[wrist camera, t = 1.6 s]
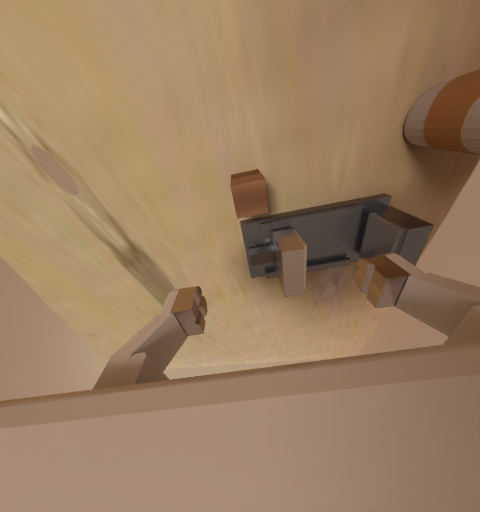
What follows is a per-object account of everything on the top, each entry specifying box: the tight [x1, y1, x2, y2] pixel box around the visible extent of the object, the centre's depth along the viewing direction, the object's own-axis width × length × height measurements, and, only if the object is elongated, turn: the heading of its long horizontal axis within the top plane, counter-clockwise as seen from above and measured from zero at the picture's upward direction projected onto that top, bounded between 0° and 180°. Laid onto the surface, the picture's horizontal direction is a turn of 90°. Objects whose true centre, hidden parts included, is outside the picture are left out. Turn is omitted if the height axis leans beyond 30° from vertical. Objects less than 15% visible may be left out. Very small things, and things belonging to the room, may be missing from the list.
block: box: [231, 169, 268, 218], centre depth 24 cm, size 4×4×8 cm
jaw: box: [248, 226, 307, 297], centre depth 29 cm, size 9×8×7 cm
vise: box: [240, 194, 434, 278], centre depth 29 cm, size 12×24×9 cm, turn 101°
